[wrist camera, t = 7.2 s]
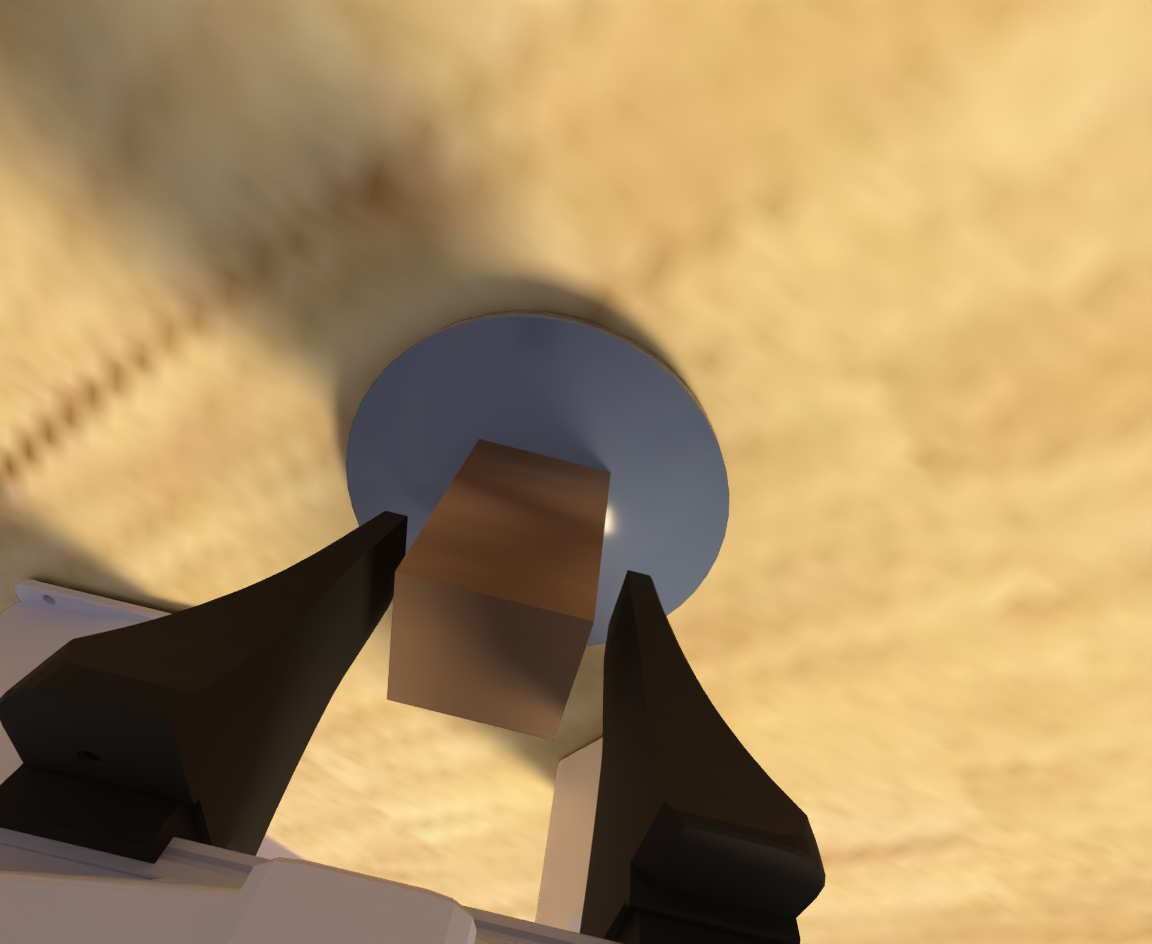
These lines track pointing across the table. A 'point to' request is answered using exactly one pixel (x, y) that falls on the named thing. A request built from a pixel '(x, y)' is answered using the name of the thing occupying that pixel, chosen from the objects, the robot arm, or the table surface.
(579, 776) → the jar
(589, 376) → the blue-grey round disc
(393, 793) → the table surface
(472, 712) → the walnut block
